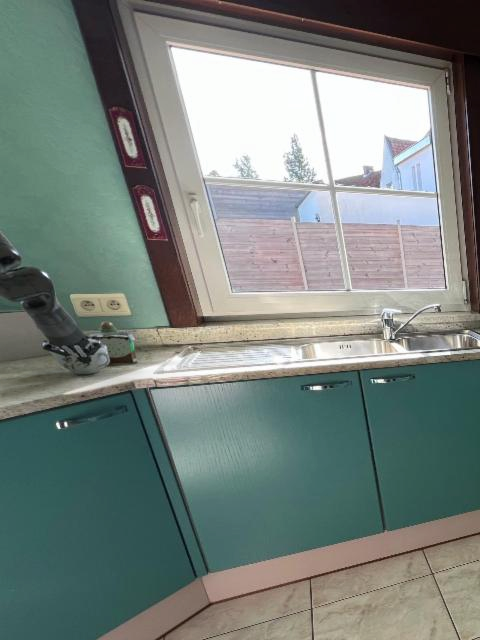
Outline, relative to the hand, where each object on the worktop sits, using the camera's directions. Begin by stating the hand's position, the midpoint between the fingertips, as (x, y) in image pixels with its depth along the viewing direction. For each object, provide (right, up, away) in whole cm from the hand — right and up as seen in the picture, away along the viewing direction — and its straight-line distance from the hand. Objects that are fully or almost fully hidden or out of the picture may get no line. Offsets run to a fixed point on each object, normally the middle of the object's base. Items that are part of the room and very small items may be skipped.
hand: (86, 361), depth 150 cm
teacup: (-5, -3, +6) cm, 8 cm away
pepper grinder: (-20, +7, +30) cm, 37 cm away
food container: (-8, +3, +20) cm, 22 cm away
